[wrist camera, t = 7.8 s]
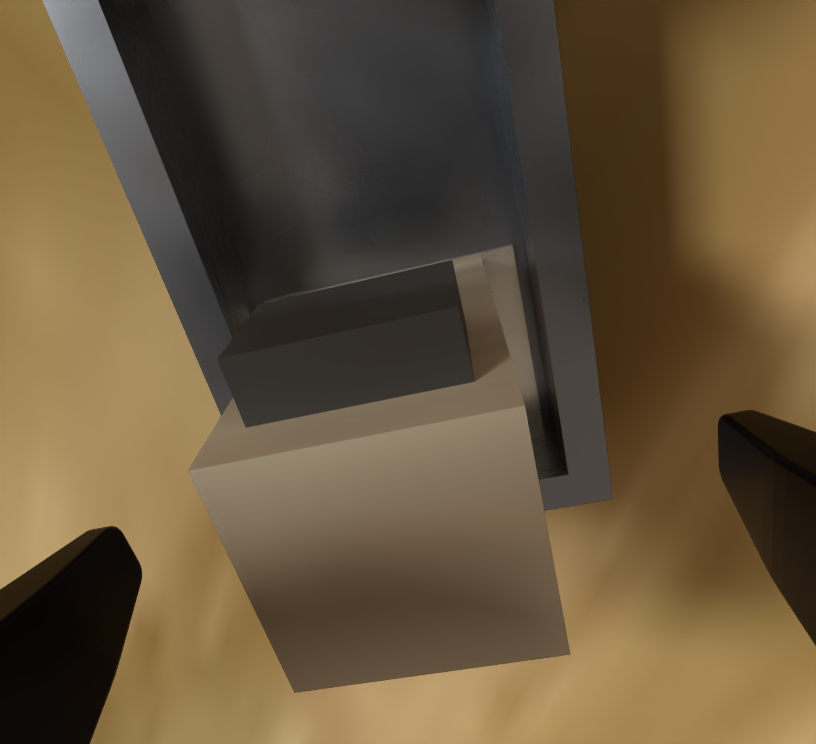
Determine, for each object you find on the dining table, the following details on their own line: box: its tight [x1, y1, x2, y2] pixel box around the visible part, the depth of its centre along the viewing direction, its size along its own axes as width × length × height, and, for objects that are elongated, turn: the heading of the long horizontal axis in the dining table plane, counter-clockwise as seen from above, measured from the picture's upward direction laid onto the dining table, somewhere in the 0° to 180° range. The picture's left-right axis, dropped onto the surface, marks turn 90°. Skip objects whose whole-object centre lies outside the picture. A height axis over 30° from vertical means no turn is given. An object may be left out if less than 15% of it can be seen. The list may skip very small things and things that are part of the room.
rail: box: [43, 0, 613, 511], centre depth 9 cm, size 16×7×7 cm, turn 14°
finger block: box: [188, 259, 570, 693], centre depth 10 cm, size 5×4×6 cm
